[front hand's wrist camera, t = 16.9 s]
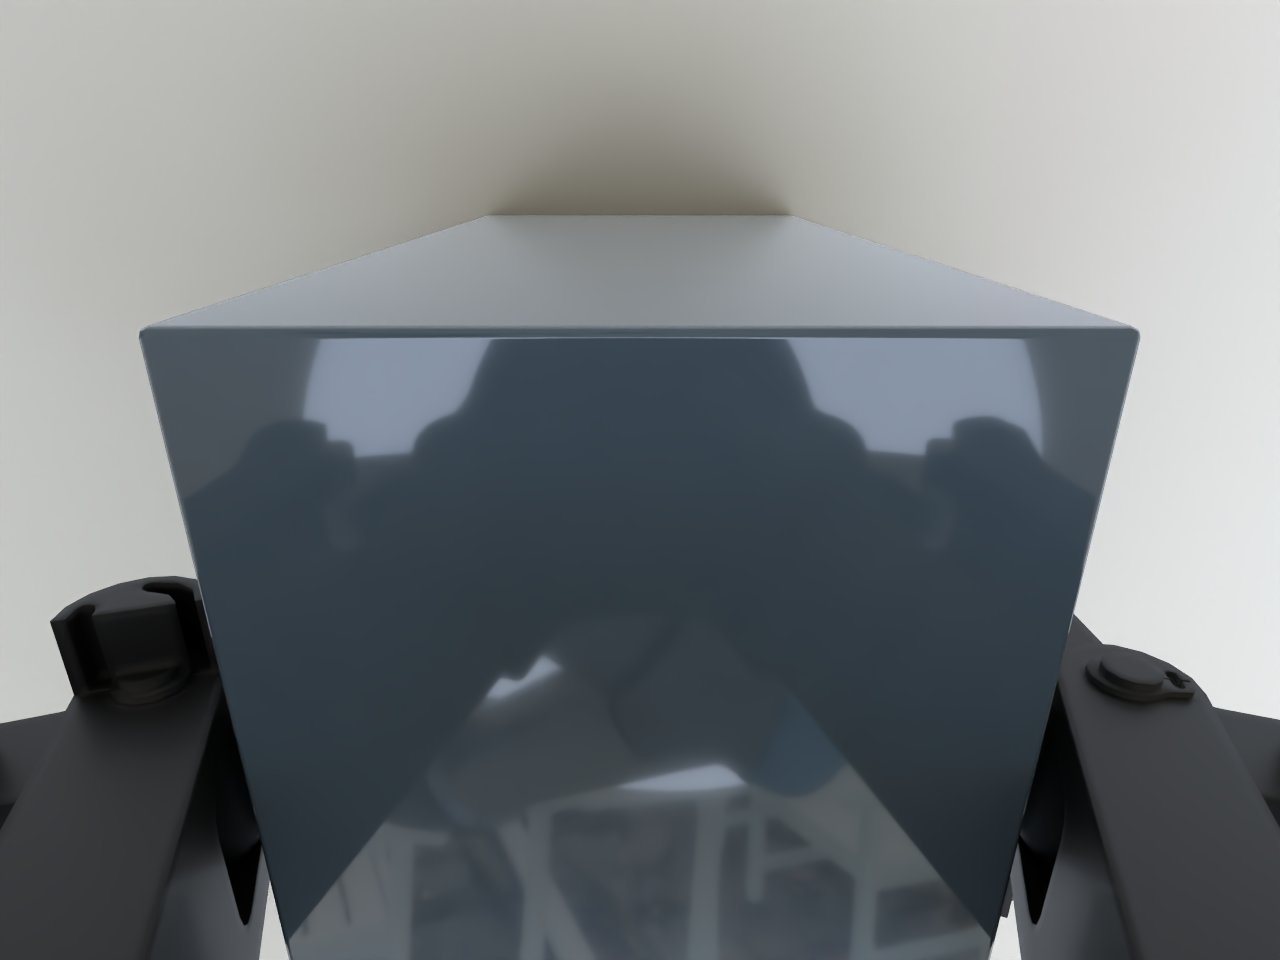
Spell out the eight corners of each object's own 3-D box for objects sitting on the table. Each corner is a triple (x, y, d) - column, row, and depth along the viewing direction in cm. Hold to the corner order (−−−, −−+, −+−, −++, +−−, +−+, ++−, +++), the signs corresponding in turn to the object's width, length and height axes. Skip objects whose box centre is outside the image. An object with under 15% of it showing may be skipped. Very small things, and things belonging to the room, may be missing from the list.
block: (766, 609, 19) (935, 1196, 8) (512, 609, 19) (344, 1198, 8) (795, 215, 16) (1147, 328, 5) (484, 214, 16) (131, 326, 5)
